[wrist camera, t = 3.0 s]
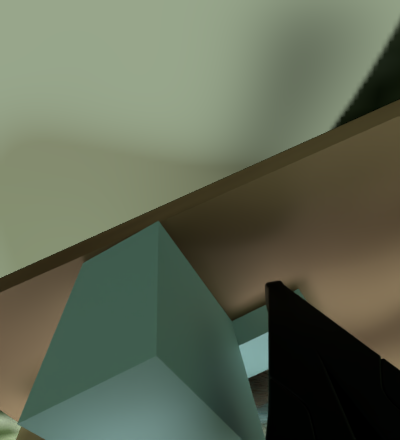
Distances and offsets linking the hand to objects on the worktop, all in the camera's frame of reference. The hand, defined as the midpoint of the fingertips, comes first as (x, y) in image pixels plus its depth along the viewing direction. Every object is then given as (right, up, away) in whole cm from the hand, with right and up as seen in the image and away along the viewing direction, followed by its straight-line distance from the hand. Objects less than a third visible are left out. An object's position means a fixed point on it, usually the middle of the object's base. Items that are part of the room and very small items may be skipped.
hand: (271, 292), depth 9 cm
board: (-1, -5, +6) cm, 8 cm away
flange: (-1, -4, +4) cm, 6 cm away
